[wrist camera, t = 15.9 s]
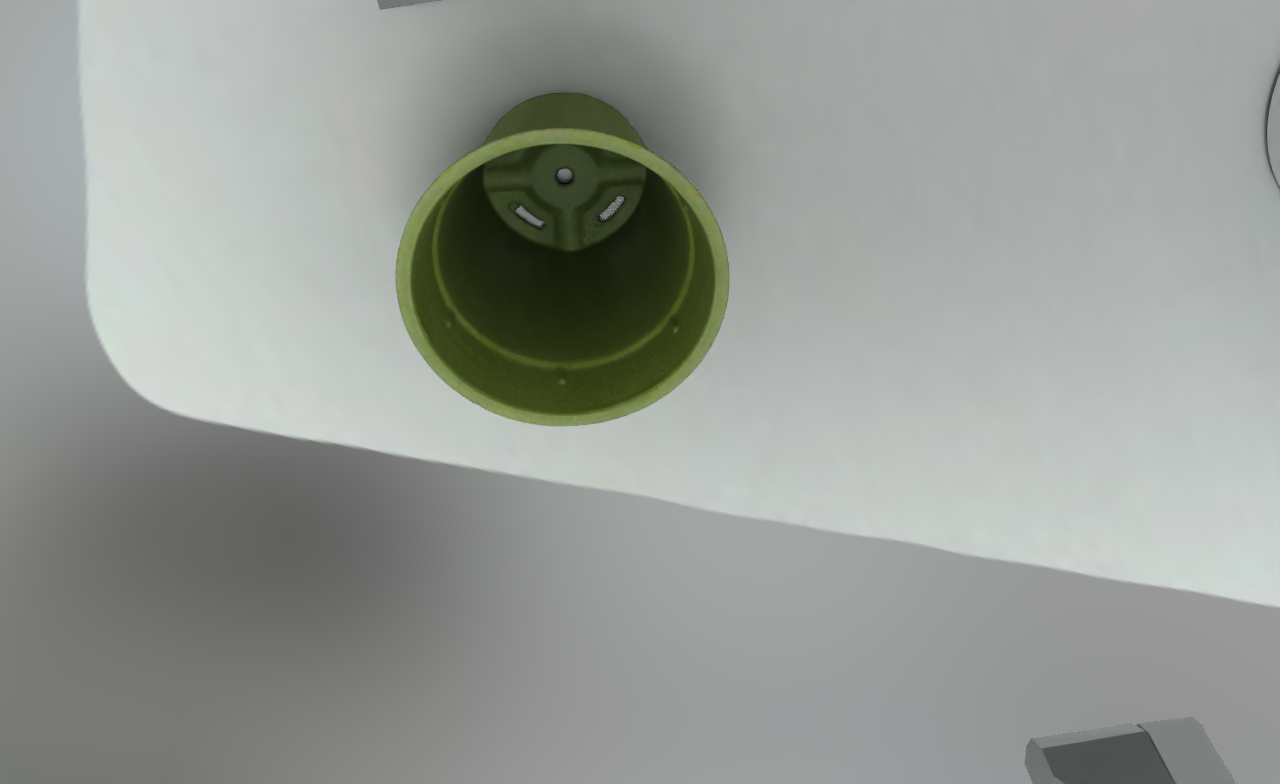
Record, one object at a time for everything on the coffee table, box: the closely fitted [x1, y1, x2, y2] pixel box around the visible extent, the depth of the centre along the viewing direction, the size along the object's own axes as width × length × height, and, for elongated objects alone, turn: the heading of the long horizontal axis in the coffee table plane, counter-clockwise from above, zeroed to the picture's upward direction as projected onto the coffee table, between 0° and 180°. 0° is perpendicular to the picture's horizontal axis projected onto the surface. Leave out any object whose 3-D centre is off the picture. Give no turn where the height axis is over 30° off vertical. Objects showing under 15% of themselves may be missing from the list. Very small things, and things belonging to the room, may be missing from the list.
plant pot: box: [396, 93, 729, 426], centre depth 47 cm, size 12×12×11 cm
